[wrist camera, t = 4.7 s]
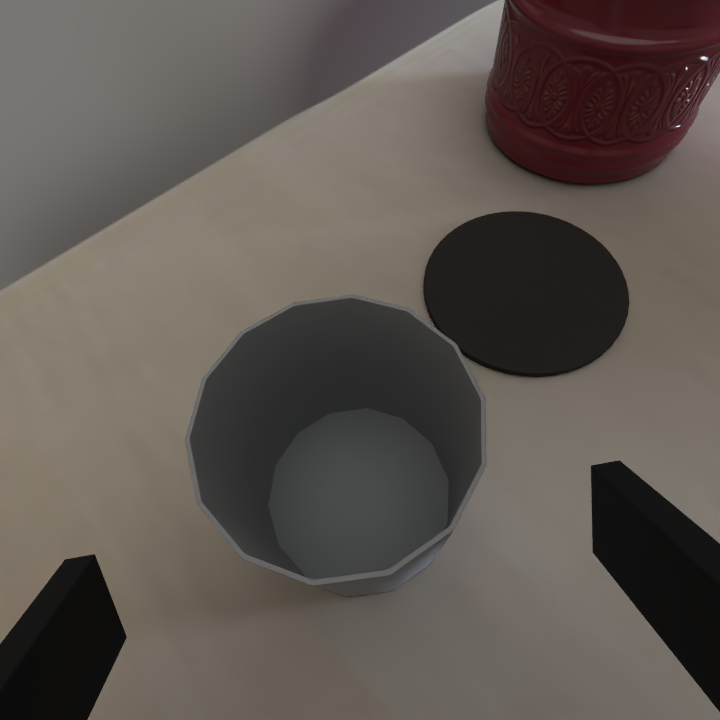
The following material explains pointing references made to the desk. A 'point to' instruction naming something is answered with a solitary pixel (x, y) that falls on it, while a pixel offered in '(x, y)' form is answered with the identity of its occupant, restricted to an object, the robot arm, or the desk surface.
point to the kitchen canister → (599, 83)
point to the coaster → (526, 293)
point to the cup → (338, 443)
